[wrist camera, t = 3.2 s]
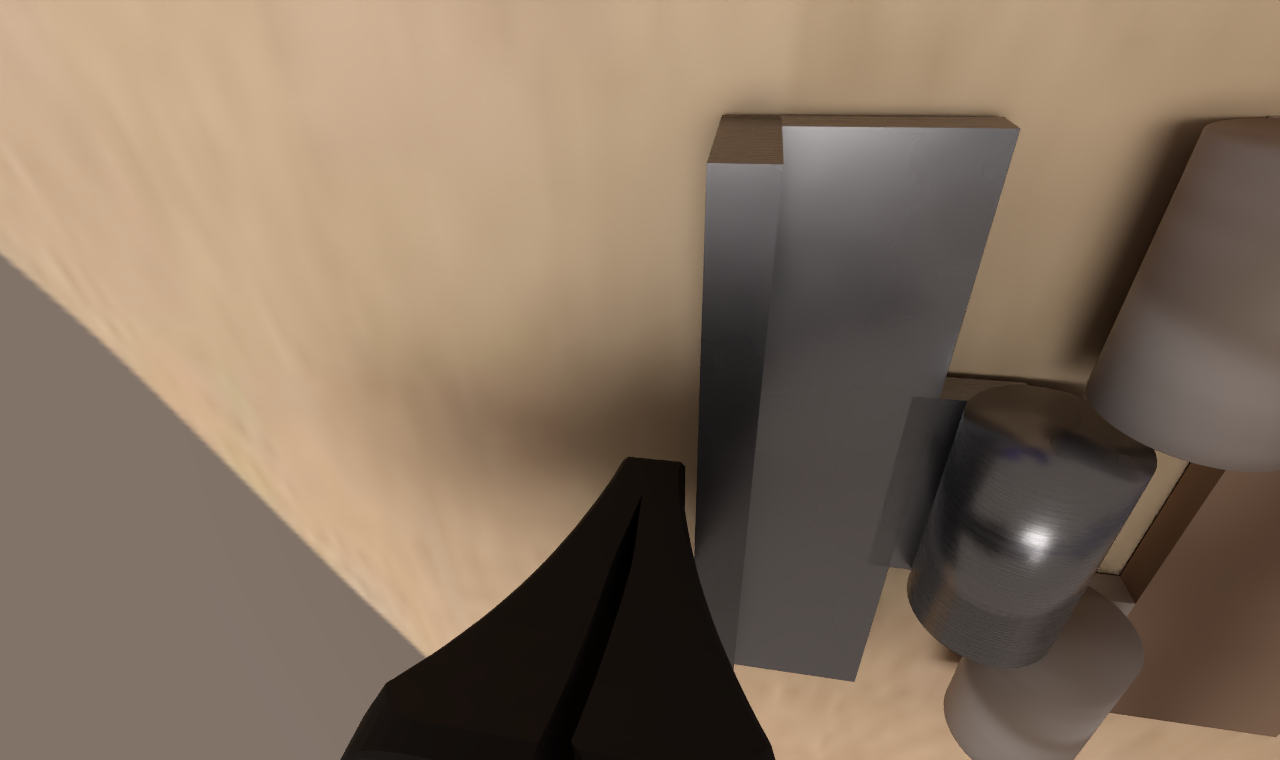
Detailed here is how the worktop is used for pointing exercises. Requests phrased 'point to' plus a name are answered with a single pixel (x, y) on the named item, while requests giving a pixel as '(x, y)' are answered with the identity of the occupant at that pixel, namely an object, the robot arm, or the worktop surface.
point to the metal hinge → (879, 405)
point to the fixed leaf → (1202, 500)
